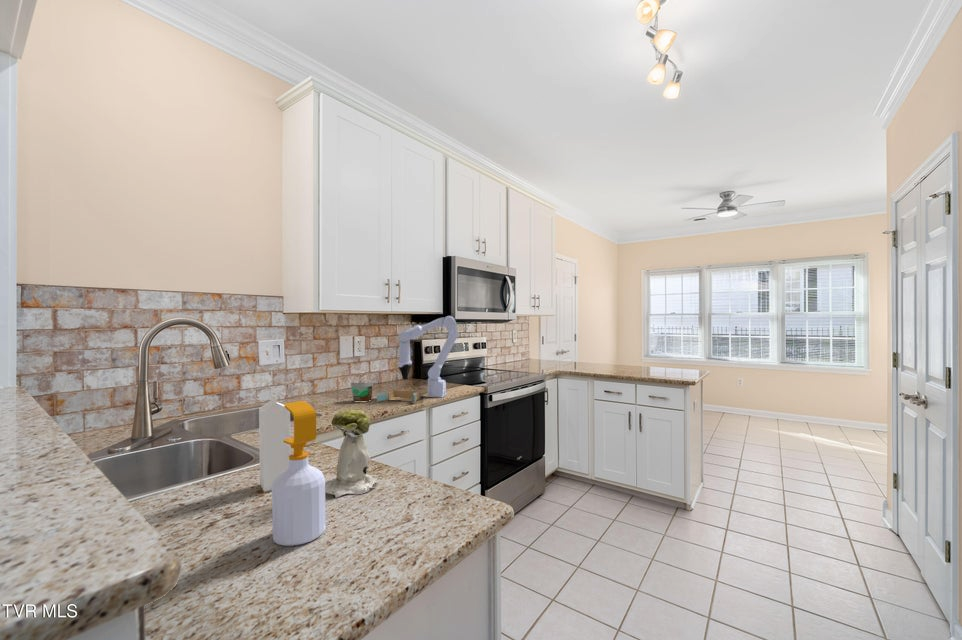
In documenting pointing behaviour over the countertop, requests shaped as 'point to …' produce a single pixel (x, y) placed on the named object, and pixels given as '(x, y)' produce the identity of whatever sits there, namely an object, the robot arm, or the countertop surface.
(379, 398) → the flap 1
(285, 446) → the white gable-top box
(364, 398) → the food container
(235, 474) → the countertop surface
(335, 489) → the tree figurine
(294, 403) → the soap bottle
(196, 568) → the countertop surface
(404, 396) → the carton
